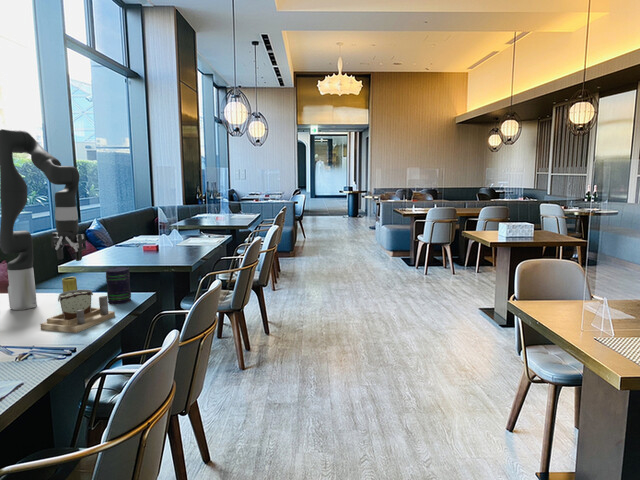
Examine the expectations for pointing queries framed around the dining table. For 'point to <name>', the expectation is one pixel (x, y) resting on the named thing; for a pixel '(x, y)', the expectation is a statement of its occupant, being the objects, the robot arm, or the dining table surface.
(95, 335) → the dining table surface
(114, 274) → the storage jar
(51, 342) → the dining table surface
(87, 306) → the half lattice cake
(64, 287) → the vase
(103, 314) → the carrier board
